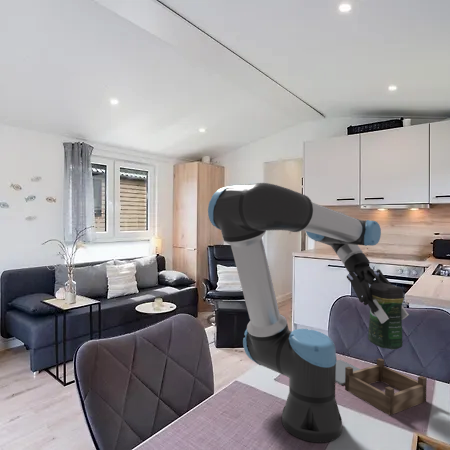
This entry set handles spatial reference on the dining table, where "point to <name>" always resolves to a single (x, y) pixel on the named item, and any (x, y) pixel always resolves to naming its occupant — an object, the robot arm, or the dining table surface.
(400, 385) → the wooden fruit crate
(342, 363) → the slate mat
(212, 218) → the robot arm
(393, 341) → the coffee jar
